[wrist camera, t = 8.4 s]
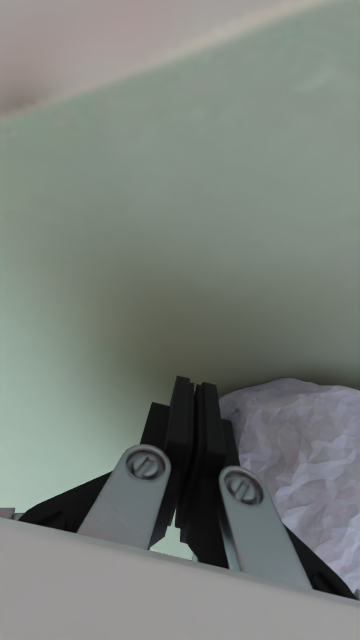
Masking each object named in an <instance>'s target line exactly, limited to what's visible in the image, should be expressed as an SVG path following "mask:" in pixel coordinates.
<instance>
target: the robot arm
mask: <svg viewBox="0 0 360 640" xmlns="http://www.w3.org/2000/svg"><path fill="white" fill-rule="evenodd" d="M175 509H176V516H175V527H176V528H180V542H182V543H187V544H188V546H189V547H190V549H191V550H192V551H193V553H194V554H193V557H192V560H188V559H184V558H179V557H175V556H171V555H167V554H162V553H158V552H154V551H150V550H149V549H150V547H151V546H153V545H154V544H155V543H157V542H158V541H159V540H161V539H162V538H163V537H165V533H166V530H167V526H170V525H171V523H172V519H173V516H174V512H175ZM0 640H360V590H358V589H356V590H355V592H354V593H352V591H351V590H350V588H349V587H348V585H347V584H346V583H345V582H344V581H343V580H342V579H341V578H340V577H339V576H338V575H337V574H336V573H335V572H334V571H333V570H332V569H331V568H330V567H329V566H328V565H327V564H326V563H325V562H324V561H323V560H322V559H320V558H319V557H318V556H317V555H316V554H315V553H314V552H313V551H312V550H311V549H310V548H309V547H308V546H307V545H306V544H305V543H303V542H302V541H301V540H300V539H299V538H298V537H297V536H296V535H295V534H294V533H293V532H292V531H291V530H290V529H289V528H288V527H287V526H285V525H284V524H283V522H282V520H281V518H280V516H279V513H278V511H277V509H276V507H275V505H274V502H273V500H272V498H271V496H270V494H269V491H268V489H267V487H266V486H265V484H264V482H263V481H262V480H261V479H260V478H259V477H258V476H257V475H256V474H254V473H253V472H252V471H250V470H248V469H246V468H244V467H241V466H240V461H239V456H238V451H237V447H236V442H235V437H234V432H233V428H232V423H231V421H230V420H226V419H221V413H220V406H219V400H218V394H217V387H216V385H214V384H210V383H206V382H203V383H202V385H199V384H197V386H196V390H195V393H194V383H191V382H190V379H189V378H185V377H181V376H177V378H176V382H175V386H174V390H173V394H172V398H171V402H170V406H167V405H163V404H158V403H154V402H152V404H151V407H150V411H149V414H148V418H147V421H146V424H145V428H144V431H143V435H142V438H141V442H140V444H139V445H135V446H132V447H130V448H129V449H127V450H126V451H125V452H124V453H123V455H122V456H121V458H120V460H119V462H118V463H117V465H116V467H115V468H114V470H113V471H111V472H109V473H107V474H105V475H102V476H100V477H98V478H96V479H93V480H91V481H89V482H87V483H84V484H82V485H80V486H78V487H75V488H73V489H71V490H69V491H66V492H64V493H62V494H60V495H57V496H55V497H53V498H51V499H48V500H46V501H44V502H41V503H39V504H37V505H36V506H34V507H32V508H30V509H29V510H27V511H26V512H25V513H15V508H0Z"/></svg>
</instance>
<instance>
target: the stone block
mask: <svg viewBox="0 0 360 640" xmlns="http://www.w3.org/2000/svg"><path fill="white" fill-rule="evenodd" d="M219 406H220V413H221V419H226V420H230V421H231V423H232V428H233V432H234V437H235V442H236V447H237V451H238V456H239V461H240V466H241V467H244V468H246V469H248V470H250V471H252V472H253V473H254V474H256V475H257V476H258V477H259V478H260V479H261V480H262V481H263V482H264V484H265V486H266V487H267V489H268V491H269V494H270V496H271V498H272V500H273V502H274V505H275V507H276V509H277V511H278V513H279V516H280V518H281V520H282V522H283V524H284V525H285V526H287V527H288V528H289V529H290V530H291V531H292V532H293V533H294V534H295V535H296V536H297V537H298V538H299V539H300V540H301V541H302V542H303V543H305V544H306V545H307V546H308V547H309V548H310V549H311V550H312V551H313V552H314V553H315V554H316V555H317V556H318V557H319V558H320V559H322V560H323V561H324V562H325V563H326V564H327V565H328V566H329V567H330V568H331V569H332V570H333V571H334V572H335V573H336V574H337V575H338V576H339V577H340V578H341V579H342V580H343V581H344V582H345V583H346V584H347V585H348V587H349V588H350V590H351V591H352V593H354V592H355V590H356V589H358V590H360V390H357V389H353V388H349V387H345V386H340V385H334V386H326V385H317V384H315V383H312V382H304V381H301V380H298V379H294V378H283V379H277V380H272V381H271V382H268V383H265V384H261V385H256V386H252V387H248V388H244V389H240V390H236V391H233V392H231V393H229V394H226V395H224V396H223V397H221V398H220V400H219Z"/></svg>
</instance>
